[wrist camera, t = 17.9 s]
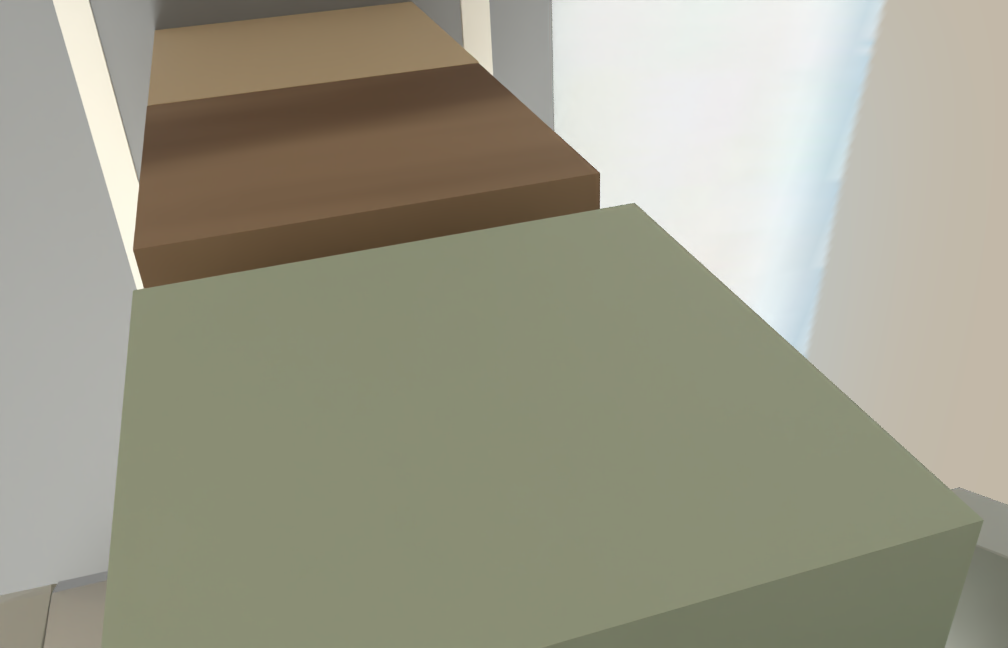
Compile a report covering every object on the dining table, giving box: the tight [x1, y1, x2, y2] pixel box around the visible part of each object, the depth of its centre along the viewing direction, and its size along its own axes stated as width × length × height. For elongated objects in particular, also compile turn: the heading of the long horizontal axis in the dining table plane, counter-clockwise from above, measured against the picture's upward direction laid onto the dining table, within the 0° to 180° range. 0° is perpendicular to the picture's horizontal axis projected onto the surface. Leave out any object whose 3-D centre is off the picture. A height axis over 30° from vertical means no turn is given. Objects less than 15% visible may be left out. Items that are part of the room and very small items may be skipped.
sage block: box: [101, 203, 984, 648], centre depth 8 cm, size 5×5×5 cm
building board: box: [0, 0, 554, 595], centre depth 17 cm, size 24×16×6 cm, turn 3°
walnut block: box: [133, 63, 600, 288], centre depth 13 cm, size 5×5×5 cm
